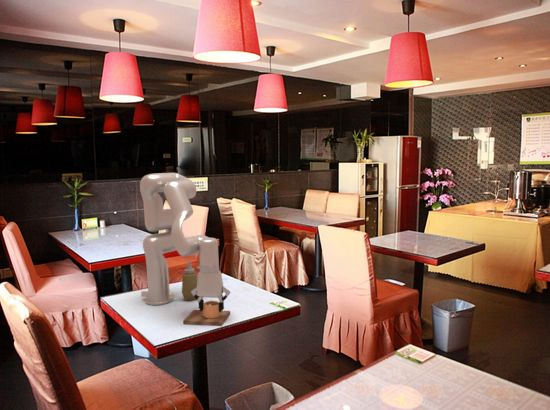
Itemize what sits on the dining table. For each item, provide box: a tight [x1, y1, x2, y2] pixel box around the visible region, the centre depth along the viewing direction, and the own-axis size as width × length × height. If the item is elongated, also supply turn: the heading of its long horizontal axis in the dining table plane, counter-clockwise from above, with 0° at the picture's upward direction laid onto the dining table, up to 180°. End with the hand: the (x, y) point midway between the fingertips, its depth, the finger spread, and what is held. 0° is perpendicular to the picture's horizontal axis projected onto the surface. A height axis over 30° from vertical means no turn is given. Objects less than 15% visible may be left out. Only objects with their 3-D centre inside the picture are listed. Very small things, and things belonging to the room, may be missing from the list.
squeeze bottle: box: [181, 260, 198, 302], centre depth 195 cm, size 8×8×18 cm
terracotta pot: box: [203, 300, 221, 318], centre depth 170 cm, size 7×7×6 cm
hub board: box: [182, 304, 231, 327], centre depth 170 cm, size 16×12×6 cm
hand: (211, 310), depth 170 cm, fingers open, 7 cm apart
